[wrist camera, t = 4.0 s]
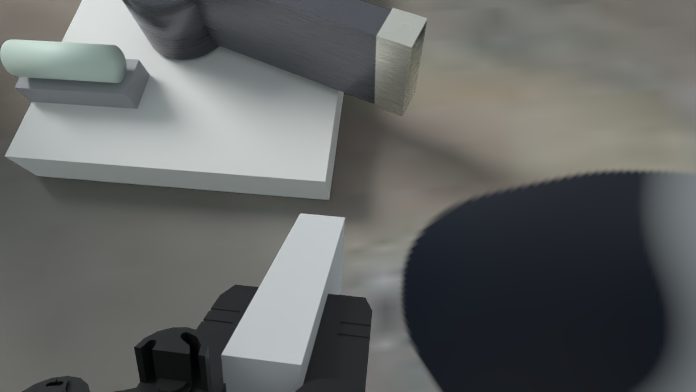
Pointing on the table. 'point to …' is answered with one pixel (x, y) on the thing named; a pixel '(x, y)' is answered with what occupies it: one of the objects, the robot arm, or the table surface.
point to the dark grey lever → (298, 40)
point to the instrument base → (168, 113)
